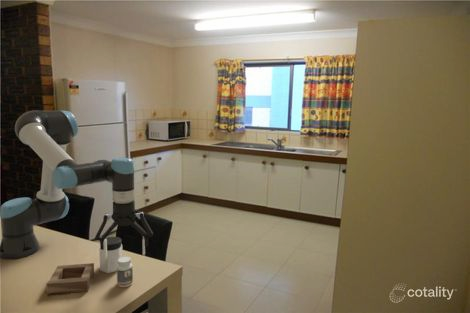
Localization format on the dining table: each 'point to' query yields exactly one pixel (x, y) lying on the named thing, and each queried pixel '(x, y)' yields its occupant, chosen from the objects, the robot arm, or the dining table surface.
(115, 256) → the jar
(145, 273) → the dining table surface
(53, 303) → the dining table surface
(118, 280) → the pill bottle
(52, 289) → the socket block
